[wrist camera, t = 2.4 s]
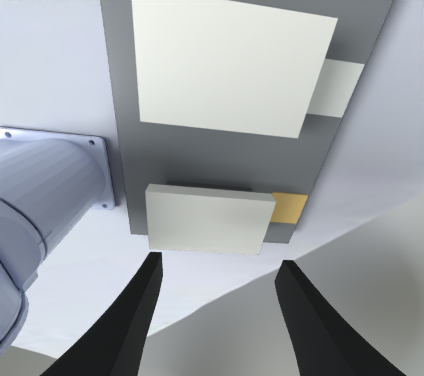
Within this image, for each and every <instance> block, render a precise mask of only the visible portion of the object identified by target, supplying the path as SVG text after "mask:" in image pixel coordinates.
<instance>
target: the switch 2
mask: <svg viewBox="0 0 424 376" xmlns="http://www.w3.org/2000/svg"><path fill="white" fill-rule="evenodd" d="M145 195H146V209H147V224H148V238H149V249H160V250H178V251H197V252H215V253H233V254H251V255H259V252H260V249H261V246H262V243H263V240H264V237H265V234H266V231H267V228H268V225H269V222H270V219H271V216H272V213H273V210H274V207H275V204H276V200H275V199H274V197H273V195H272V194H268V193H256V192H244V191H232V190H220V189H208V188H195V187H183V186H171V185H159V184H149V185H148V187H147V189H146V191H145Z"/></svg>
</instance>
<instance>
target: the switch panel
mask: <svg viewBox="0 0 424 376" xmlns="http://www.w3.org/2000/svg"><path fill="white" fill-rule="evenodd" d="M230 1H236V2H242V3H248V4H254V5H260V6H266V7H272V8H278V9H284V10H290V11H296V12H303V13H309V14H315V15H321V16H327V17H333V18H338V20H337V23H336V26H335V29H334V32H333V35H332V38H331V41H330V44H329V47H328V50H327V53H326V56H325V59H324V62H323V65H322V68H321V71H320V74H319V77H318V80H317V83H316V86H315V89H314V92H313V94H312V97H311V100H310V103H309V106H308V109H307V112H306V115H305V118H304V121H303V124H302V127H301V130H300V133H299V136H298V138H290V137H280V136H271V135H262V134H253V133H243V132H234V131H225V130H216V129H207V128H197V127H188V126H179V125H170V124H160V123H151V122H142V121H140V111H139V97H138V83H137V68H136V54H135V40H134V26H133V12H132V0H100V3H101V10H102V18H103V26H104V33H105V41H106V48H107V56H108V64H109V71H110V79H111V87H112V94H113V102H114V109H115V117H116V125H117V132H118V140H119V147H120V155H121V163H122V170H123V178H124V185H125V193H126V201H127V208H128V216H129V224H130V231H131V234H138V235H148V224H147V209H146V195H145V191H146V189H147V187H148V185H149V184H159V185H171V186H183V187H195V188H208V189H220V190H232V191H244V192H256V193H268V194H272V195H273V197H274V199H275V200H276V204H275V207H274V210H273V213H272V216H271V219H270V222H269V225H268V228H267V231H266V234H265V237H264V240H263V242H270V243H287V244H288V243H289V241H290V239H291V236H292V234H293V232H294V229H295V227H296V225H297V222H298V220H299V218H300V215H301V213H302V211H303V208H304V206H305V204H306V201H307V199H308V197H309V194H310V192H311V190H312V187H313V185H314V183H315V181H316V178H317V176H318V174H319V171H320V169H321V167H322V164H323V162H324V160H325V157H326V155H327V153H328V150H329V148H330V146H331V143H332V141H333V139H334V136H335V134H336V132H337V129H338V127H339V125H340V123H341V120H342V118H343V116H344V113H345V111H346V109H347V106H348V104H349V102H350V99H351V97H352V95H353V92H354V90H355V88H356V85H357V83H358V81H359V78H360V76H361V74H362V71H363V69H364V67H365V65H366V62H367V60H368V58H369V55H370V53H371V51H372V48H373V46H374V44H375V41H376V39H377V37H378V34H379V32H380V30H381V27H382V25H383V23H384V20H385V18H386V16H387V13H388V11H389V9H390V7H391V4H392V2H393V0H230Z"/></svg>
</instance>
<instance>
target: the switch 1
mask: <svg viewBox="0 0 424 376" xmlns="http://www.w3.org/2000/svg"><path fill="white" fill-rule="evenodd" d="M132 12H133V26H134V40H135V54H136V68H137V83H138V97H139V111H140V121H142V122H151V123H160V124H170V125H179V126H188V127H197V128H207V129H216V130H225V131H234V132H243V133H253V134H262V135H271V136H280V137H290V138H298V136H299V133H300V130H301V127H302V124H303V121H304V118H305V115H306V112H307V109H308V106H309V103H310V100H311V97H312V94H313V92H314V89H315V86H316V83H317V80H318V77H319V74H320V71H321V68H322V65H323V62H324V59H325V56H326V53H327V50H328V47H329V44H330V41H331V38H332V35H333V32H334V29H335V26H336V23H337V20H338V18H333V17H327V16H321V15H315V14H309V13H303V12H296V11H290V10H284V9H278V8H272V7H266V6H260V5H254V4H248V3H242V2H236V1H230V0H132Z"/></svg>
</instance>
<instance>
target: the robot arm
mask: <svg viewBox="0 0 424 376" xmlns="http://www.w3.org/2000/svg"><path fill="white" fill-rule="evenodd" d="M9 133H10V134H11V135H9ZM91 140H93V141H94V142H95V144H92V143H91ZM104 204H106V205H107V206H105V205H104ZM114 207H115V200H114V194H113V188H112V182H111V176H110V170H109V164H108V158H107V152H106V146H105V142H104V140H103V139H102V138H101V137H95V136H85V135H75V134H64V133H54V132H44V131H34V130H24V129H14V128H4V127H0V356H1V355H2V354H3V353H4V352H5V351H6V350H7V349H8V347H9V346H10V345H11V344H12V342H13V341H14V340H15V338H16V337H17V335H18V334H19V332H20V330H21V329H22V327H23V325H24V322H25V320H26V317H27V314H28V306H29V303H28V298H27V296H26V294H25V292H26V290H27V289H28V288H29V287H30V286H31V284H32V283H33V282H34V281H35V280H36V278H37V277H38V274H37V268H38V267H39V266H40V264H41V263H42V262H43V261H44V260H45V259H46V257H47V256H48V255H49V254H50V253H51V252H52V251H53V250H54V248H55V247H56V246H57V245H58V244H59V243H60V242H61V240H62V239H63V238H64V237H65V236H66V235H67V234H68V233H69V231H70V230H71V229H72V228H73V227H74V226H75V225H76V223H77V222H78V221H79V220H80V219H81V218H82V217H83V216H84V214H85V213H86V212H87V211H88V210H89V209H90V208H91V209H106V210H112V209H114ZM162 277H163V268H162V252H150V253H149V254H148V256H147V258H146V259H145V261H144V262H143V264H142V265H141V267H140V268H139V270H138V271H137V273H136V274H135V275H134V277H133V278H132V279H131V281H130V282H129V283H128V285H127V286H126V287H125V289H124V290H123V291H122V292H121V294H120V295H119V296H118V297H117V298H116V300H115V301H114V302H113V303H112V305H111V306H110V307H109V308H108V309H107V310H106V311H105V313H104V314H103V315H102V316H101V317H100V318H99V319H98V320H97V321H96V322H95V323H94V324H93V325H92V327H91V328H90V329H89V330H88V331H87V332H86V333H85V334H84V335H83V336H82V337H81V338H80V339H79V340H78V341H77V342H76V343H75V344H74V345H73V346H72V347H71V348H69V349H68V350H67V351H66V352H65V353H64V354H63V355H62V356H61V357H60V358H59V359H58V360H56V361H55V362H54V363H53V364H52V365H51V366H50V367H49V368H48V369H47V370H46V371H44V372H43V373H42V374H41V375H40V376H137V375H138V370H139V365H140V361H141V357H142V352H143V347H144V344H145V340H146V336H147V333H148V330H149V326H150V323H151V320H152V316H153V313H154V310H155V306H156V303H157V300H158V296H159V292H160V288H161V282H162ZM275 287H276V292H277V296H278V301H279V304H280V307H281V310H282V313H283V317H284V320H285V323H286V326H287V329H288V332H289V334H290V338H291V341H292V344H293V348H294V351H295V355H296V359H297V364H298V367H299V372H300V376H406V375H405V374H404V373H402V372H401V371H400V370H398V368H396V367H395V366H394V365H393V364H391V363H390V362H389V361H388V360H387V359H386V358H385V357H384V356H382V355H381V354H380V353H379V352H378V351H377V350H376V349H375V348H373V347H372V346H371V345H370V344H369V343H368V342H367V341H366V340H365V339H364V338H363V337H362V336H361V335H360V334H358V333H357V332H356V331H355V330H354V329H353V328H352V327H351V326H350V325H349V324H348V323H347V322H346V321H345V320H344V319H343V318H342V317H341V316H340V315H339V313H337V311H336V310H335V309H334V308H333V307H332V306H331V305H330V304H329V303H328V302H327V300H326V299H325V298H324V297H323V296H322V295H321V293H320V292H319V291H318V290H317V289H316V288H315V287H314V285H313V284H312V283H311V282H310V280H309V279H308V278H307V277H306V275H305V274H304V273H303V272H302V271H301V269H300V268H299V267H298V266H297V264H296V263H295V262H294V261H293V260H283V262H282V264H281V267H280V269H279V272H278V274H277V276H276V279H275Z"/></svg>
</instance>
